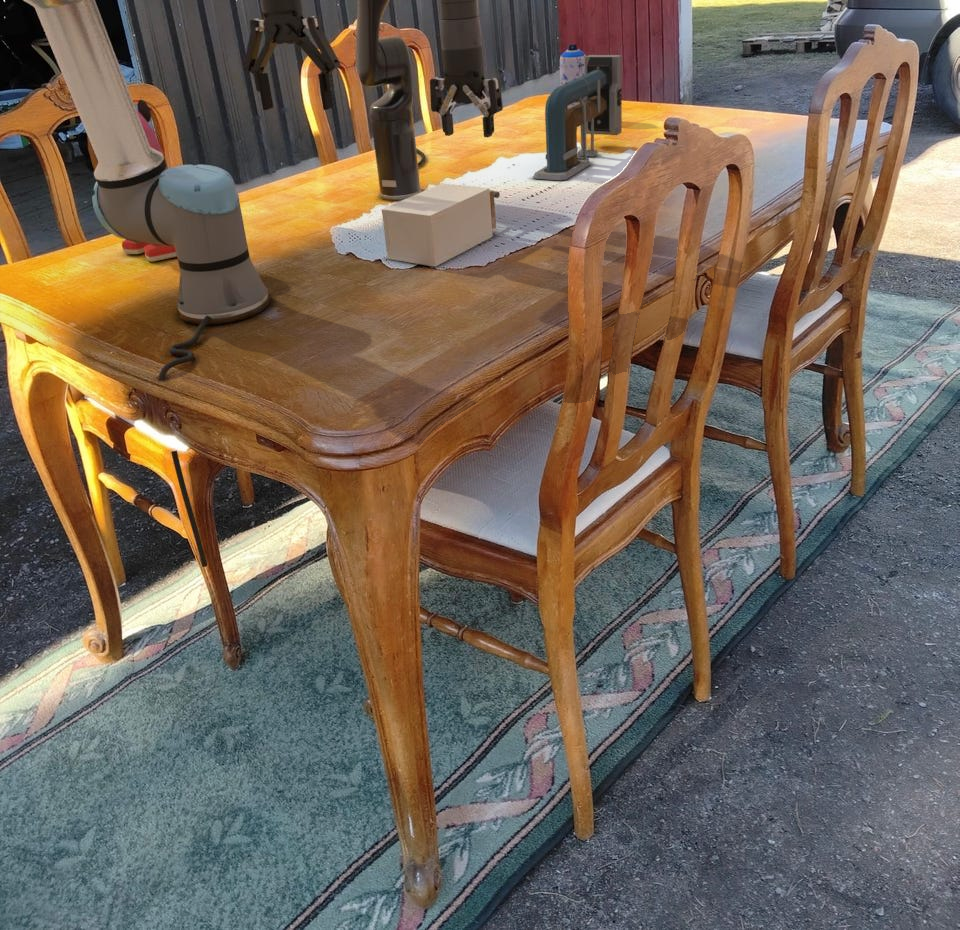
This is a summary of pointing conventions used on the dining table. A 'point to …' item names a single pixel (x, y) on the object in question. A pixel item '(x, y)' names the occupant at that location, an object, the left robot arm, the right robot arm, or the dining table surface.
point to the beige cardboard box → (437, 224)
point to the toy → (156, 250)
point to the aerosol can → (572, 66)
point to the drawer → (493, 206)
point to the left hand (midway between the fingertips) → (298, 108)
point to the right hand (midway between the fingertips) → (468, 135)
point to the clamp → (582, 116)
